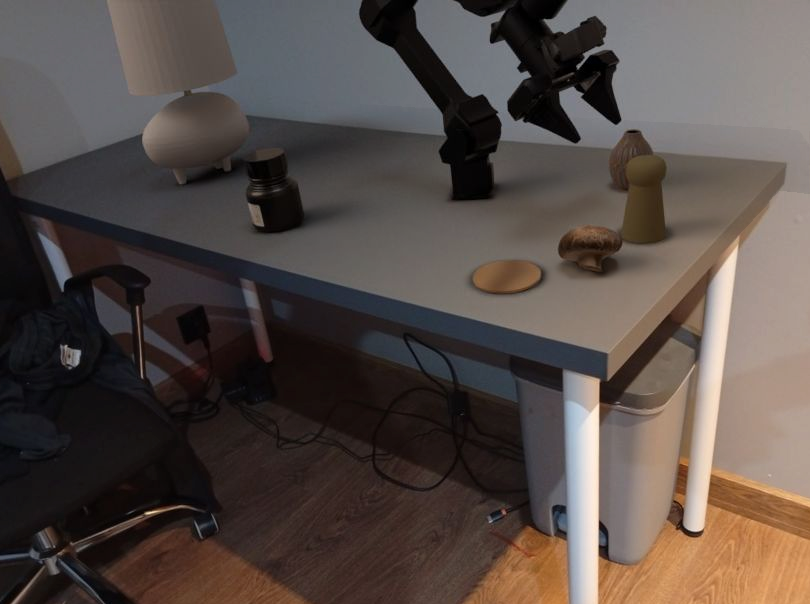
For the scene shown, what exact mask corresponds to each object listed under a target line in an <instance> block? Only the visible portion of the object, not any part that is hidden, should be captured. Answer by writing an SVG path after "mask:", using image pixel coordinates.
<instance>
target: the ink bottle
mask: <svg viewBox="0 0 810 604" xmlns="http://www.w3.org/2000/svg"><path fill="white" fill-rule="evenodd" d="M242 160H243V164H244V169H245V172H246V176H247V179H248V181H249V184H248V185H247V187H246V189H245V198H246V202H247V205H248V209H249V213H250V217H251V220H252V221H251V222H252V224H253V227H254V229H255V230H256V231H259V232H263V233H265V232H266V233H271V232H280V231H285V230H288V229H291V228H295V227H296V226H298V225H299V224H301V223H302V221H303V220H304V219H305V212H304V207H303V201H302V197H301V193H300V188H299V183H298V181H297V179H295V178H294V177H292V176H291V175H290V174H289V166H288V160H287V156H286V152H285V149H283V148H279V147H268V148H261V149H257V150H254V151H252V152H249V153H247V154H245V155H244V156H243V159H242Z"/></svg>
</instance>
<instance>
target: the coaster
mask: <svg viewBox="0 0 810 604" xmlns="http://www.w3.org/2000/svg"><path fill="white" fill-rule="evenodd" d="M541 279H542V271H541V269H540V268H539V267H538V266H537V265H536V264H534V263H532V262H529V261H525V260H514V259H512V260H511V259H509V260H507V259H505V260H499V261H493V262H490V263H488V264H485V265H483V266H480V267H479V268H478V269H477V270H476V271H475V272H474V273H473V275H472V282H473V285H474V287H476V288H477V289H479V290H480V291H482V292H486V293H490V294H499V295H501V294H502V295H507V294H514V293H520V292H524V291H527V290H529V289H531V288H533V287H534V286H536V285H537V284H539V282H540V281H541Z"/></svg>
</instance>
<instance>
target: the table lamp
mask: <svg viewBox="0 0 810 604" xmlns="http://www.w3.org/2000/svg"><path fill="white" fill-rule="evenodd" d="M106 2H107V7H108V10H109V16H110V19H111V23H112V28H113V31H114V35H115V40H116V45H117V48H118V52H119V56H120V60H121V64H122V68H123V74H124V77H125V81H126V86H127V89H128V93H129V94H130V95H132V96H137V97H139V96H140V97H149V96H161V95H170V94H176V93H180V92H183V95H182V96H180V97H177V98H176V99H173V100H172V101H170V102H168V103H167V104H166V105H165V106H163V107H162V108H161V109H160V110H159V111H158V112H157V113H156V114H155V115H154V116H153V117H152V118H151V119H150V121H148V123H147V125H146V126H145V128H144V130H143V132H142V139H141V140H142V146H143V149H144V151H145V154H146V155H147V157H148V158H149V159H150V160H151V162H153V163H155V164H156V165H158V166H160V167H163V168H168V169H172V171H173V174H174V176H175V178H176V180H177V182H178V184H179V185H185V184H187V174H186V169H192V168H193V169H194V168H198V167H199V168H200V167H204V166H207V165H211V164H213V165H214V167H215V169H223V171H224V172H229V171H232V165H231V155H233V154H235V153H236V152H238V151H239V150H240V149H241V148H242V147H243V145H244V144H245V143H246V142H247V140H248V138H249V134H250V125H249V121H248V118H247V116H246V113H245V111H244V110H243V109H242V107H241V106H240V105H239V104H238V103H237V102H236V100H234V99H233V98H231V97H230V96H228V95H226V94H224V93H221V92H218V91H217V92H215V91H197V92H192V90H195V89H200V88H204V87H205V88H206V87H208V86H212V85H215V84H218V83H221V82H225V81H226V80H229V79H231V78H233V77H235V76H236V75H237V74H238V70H237V65H236V63H235V59H234V57H233V54H232V50H231V47H230V44H229V41H228V37H227V34H226V32H225V28H224V25H223V22H222V19H221V15H220V12H219V9H218V6H217V3H216V0H106Z"/></svg>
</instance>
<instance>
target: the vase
mask: <svg viewBox="0 0 810 604" xmlns="http://www.w3.org/2000/svg"><path fill="white" fill-rule="evenodd" d="M641 155H655V154H654V150H653V147H652V146H651V145H650V143H649V142H648V140H646V139H645V137H644V135H643V133H642V130H640V129H636V128H631V129H627V130H625V131H624V132H623V135H622V136H621V138H620V140H619V141H617V143H616V145H614V147H613V148H612V151H611V153H610V157H609V162H608V163H609V164H608V165H609V166H608V167H609V168H608V169H609V174H610V178H611V180H612V181H613V183H614V184H615V185H616V186H617V187H618V188H620V189H622V190H623V189H624V190H629V184H630V182H629V181H628V179H627V177H626V167H627V164H628V162H629V161H630V160H631V159H632V158H634V157H637V156H641Z"/></svg>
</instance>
